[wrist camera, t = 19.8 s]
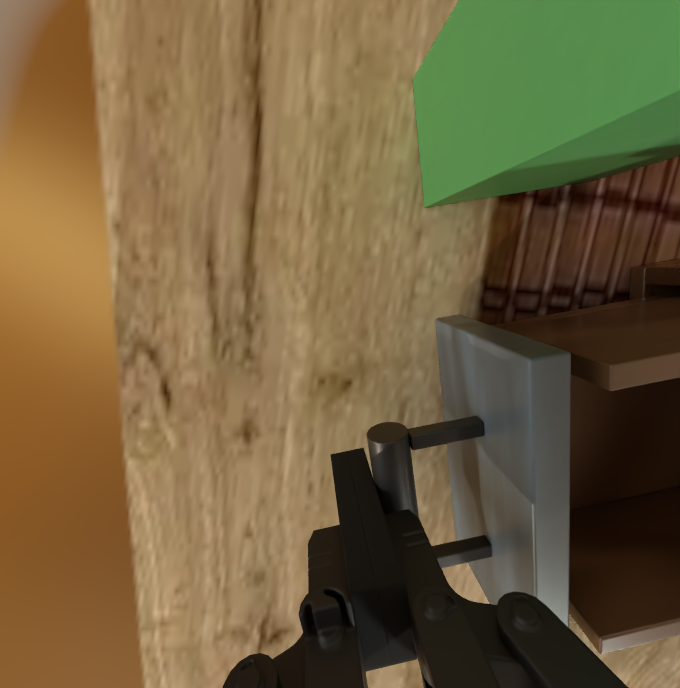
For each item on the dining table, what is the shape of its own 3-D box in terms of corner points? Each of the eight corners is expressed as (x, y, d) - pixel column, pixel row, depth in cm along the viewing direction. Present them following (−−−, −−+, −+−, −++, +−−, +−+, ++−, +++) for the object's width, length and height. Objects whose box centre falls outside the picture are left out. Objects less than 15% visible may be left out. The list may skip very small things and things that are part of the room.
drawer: (379, 556, 18) (420, 722, 12) (342, 334, 15) (371, 390, 9) (700, 486, 19) (904, 601, 13) (726, 265, 16) (1012, 268, 10)
